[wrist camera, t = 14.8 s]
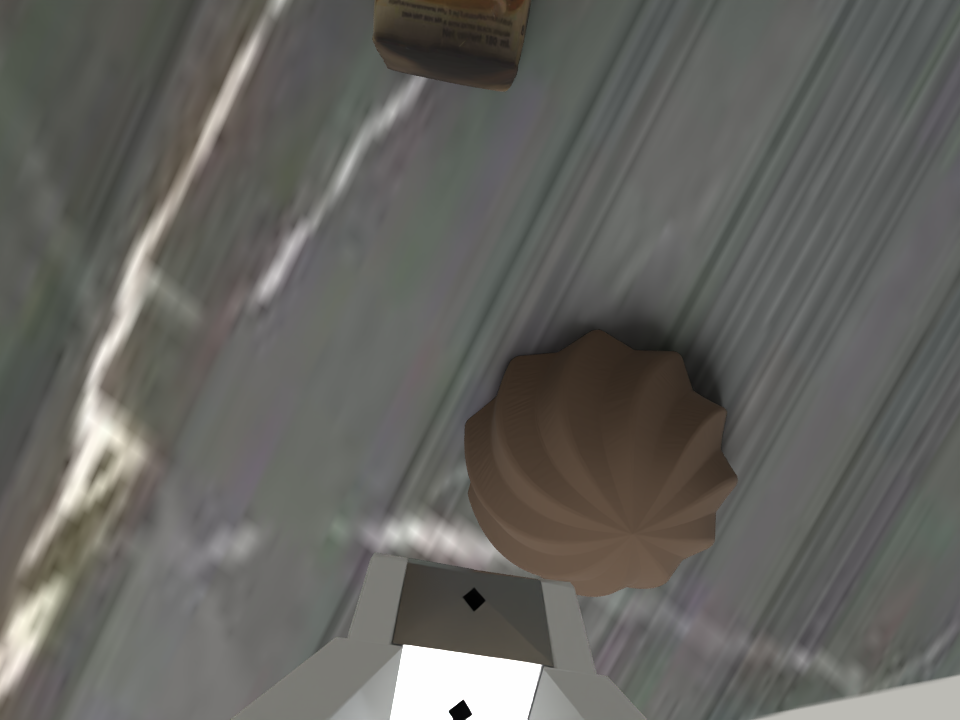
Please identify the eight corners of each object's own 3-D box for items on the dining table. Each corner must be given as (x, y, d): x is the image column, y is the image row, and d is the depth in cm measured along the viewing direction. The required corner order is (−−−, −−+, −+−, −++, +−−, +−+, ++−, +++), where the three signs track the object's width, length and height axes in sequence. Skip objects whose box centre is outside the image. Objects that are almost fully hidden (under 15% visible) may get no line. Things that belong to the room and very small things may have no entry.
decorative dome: (637, 274, 36) (695, 302, 26) (766, 485, 41) (855, 574, 31) (410, 425, 39) (388, 498, 29) (555, 604, 44) (576, 718, 34)
